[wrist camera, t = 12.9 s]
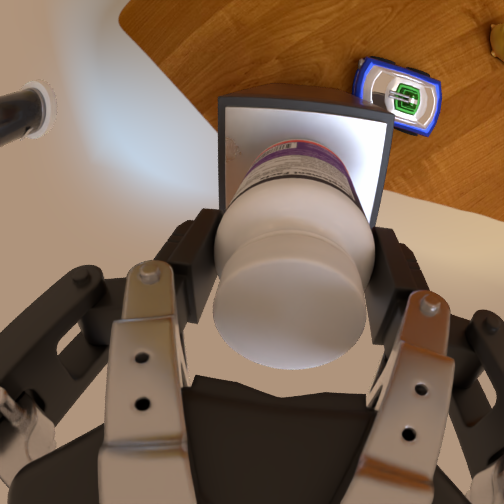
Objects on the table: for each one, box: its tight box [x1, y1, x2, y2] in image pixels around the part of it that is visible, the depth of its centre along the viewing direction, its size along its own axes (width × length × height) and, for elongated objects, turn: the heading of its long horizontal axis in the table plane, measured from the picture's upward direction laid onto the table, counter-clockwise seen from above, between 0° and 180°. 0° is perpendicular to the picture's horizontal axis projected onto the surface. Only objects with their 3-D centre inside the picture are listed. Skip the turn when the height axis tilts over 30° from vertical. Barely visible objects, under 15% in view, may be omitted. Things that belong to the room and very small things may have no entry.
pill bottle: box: [213, 139, 375, 370], centre depth 12 cm, size 5×5×10 cm
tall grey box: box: [218, 83, 395, 229], centre depth 28 cm, size 9×9×28 cm
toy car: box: [352, 56, 442, 137], centre depth 31 cm, size 9×12×10 cm
